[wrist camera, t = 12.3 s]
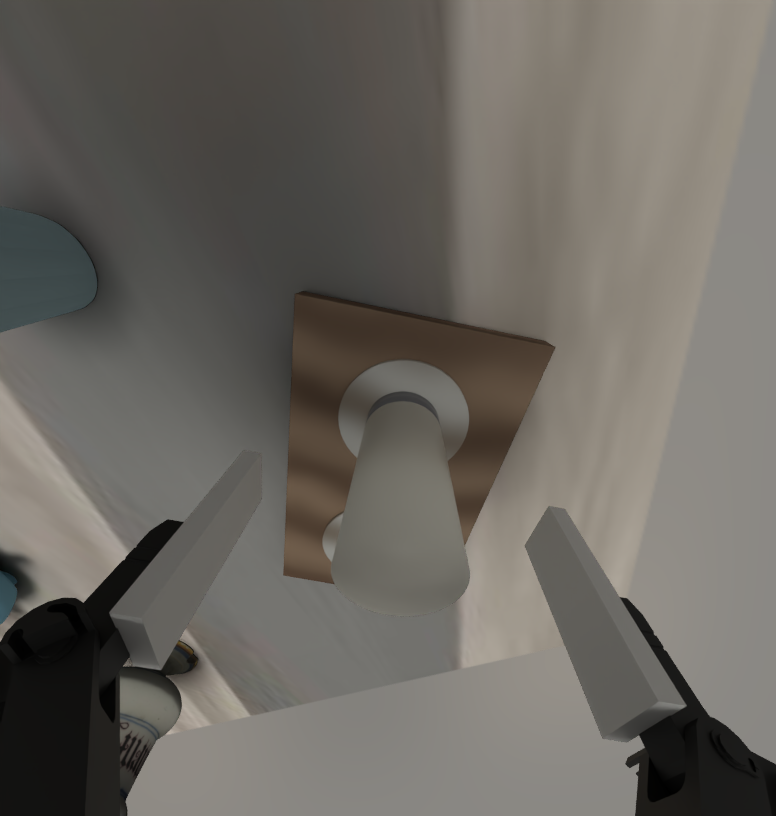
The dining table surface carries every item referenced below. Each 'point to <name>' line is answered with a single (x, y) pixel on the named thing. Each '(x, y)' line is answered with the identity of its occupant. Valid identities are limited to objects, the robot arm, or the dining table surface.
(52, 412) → the dining table surface
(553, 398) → the dining table surface
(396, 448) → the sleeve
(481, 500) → the seat board
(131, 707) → the apothecary jar
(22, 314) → the cup
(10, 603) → the decorative pot
